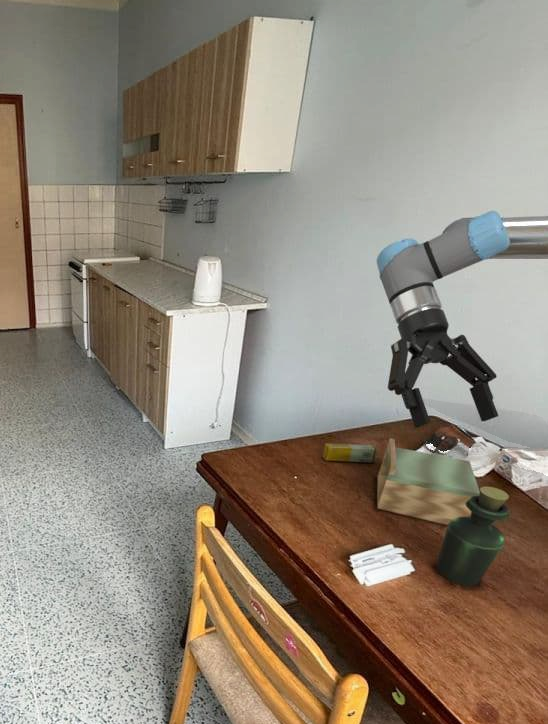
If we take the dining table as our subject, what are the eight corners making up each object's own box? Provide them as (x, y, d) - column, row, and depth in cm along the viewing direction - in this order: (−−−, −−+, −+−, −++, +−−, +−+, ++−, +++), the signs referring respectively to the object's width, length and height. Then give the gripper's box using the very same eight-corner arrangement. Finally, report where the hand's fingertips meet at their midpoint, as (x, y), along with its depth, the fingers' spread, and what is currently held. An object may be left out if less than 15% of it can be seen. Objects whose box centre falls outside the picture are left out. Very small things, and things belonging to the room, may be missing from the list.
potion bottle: (496, 588, 83) (539, 506, 75) (452, 592, 83) (491, 509, 74) (461, 557, 90) (497, 478, 82) (420, 560, 90) (452, 481, 81)
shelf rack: (455, 494, 109) (472, 453, 103) (464, 528, 98) (484, 484, 93) (377, 477, 115) (389, 438, 110) (377, 508, 104) (391, 466, 99)
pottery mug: (423, 440, 133) (448, 418, 128) (453, 464, 129) (480, 442, 125) (419, 446, 123) (446, 423, 119) (451, 472, 120) (481, 449, 116)
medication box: (369, 458, 123) (372, 444, 122) (373, 463, 121) (377, 448, 119) (322, 456, 124) (325, 442, 123) (325, 460, 122) (328, 446, 120)
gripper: (460, 324, 95) (498, 423, 89) (347, 330, 91) (379, 434, 86) (494, 302, 88) (537, 408, 82) (372, 309, 84) (409, 420, 78)
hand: (456, 422), depth 84 cm, fingers open, 13 cm apart
